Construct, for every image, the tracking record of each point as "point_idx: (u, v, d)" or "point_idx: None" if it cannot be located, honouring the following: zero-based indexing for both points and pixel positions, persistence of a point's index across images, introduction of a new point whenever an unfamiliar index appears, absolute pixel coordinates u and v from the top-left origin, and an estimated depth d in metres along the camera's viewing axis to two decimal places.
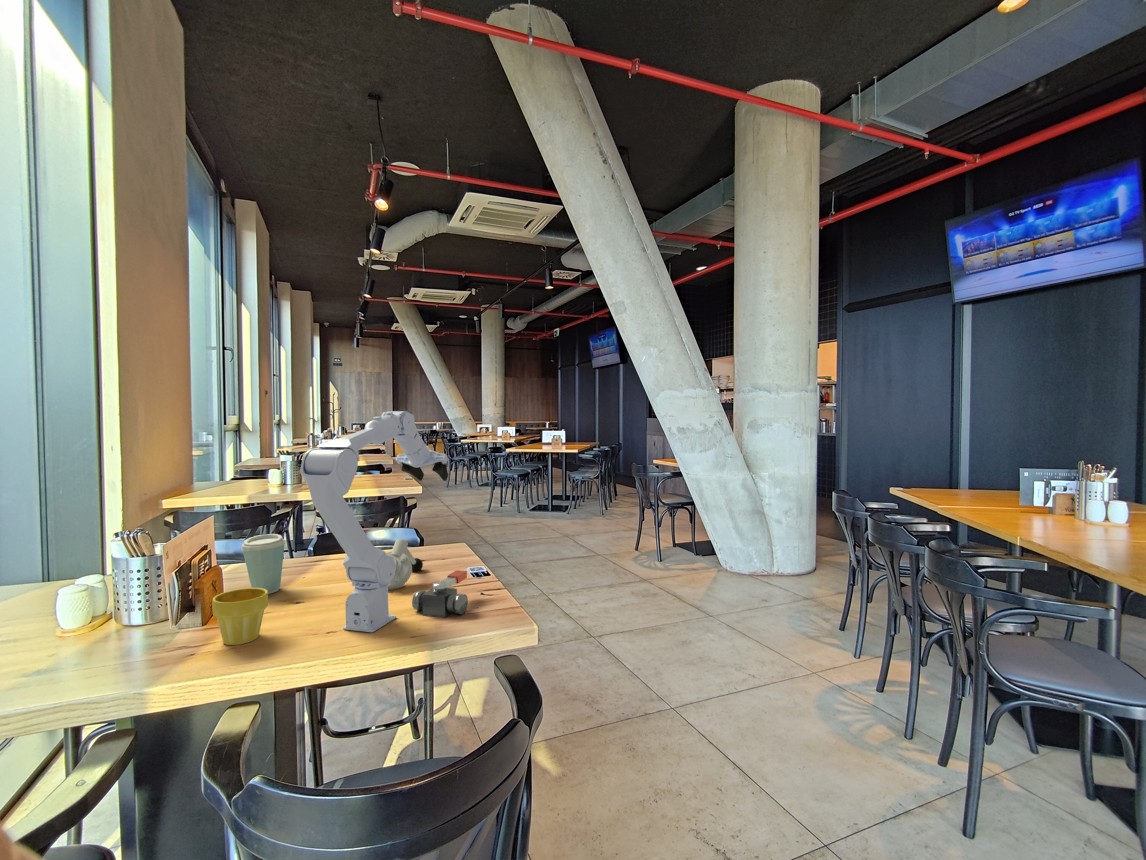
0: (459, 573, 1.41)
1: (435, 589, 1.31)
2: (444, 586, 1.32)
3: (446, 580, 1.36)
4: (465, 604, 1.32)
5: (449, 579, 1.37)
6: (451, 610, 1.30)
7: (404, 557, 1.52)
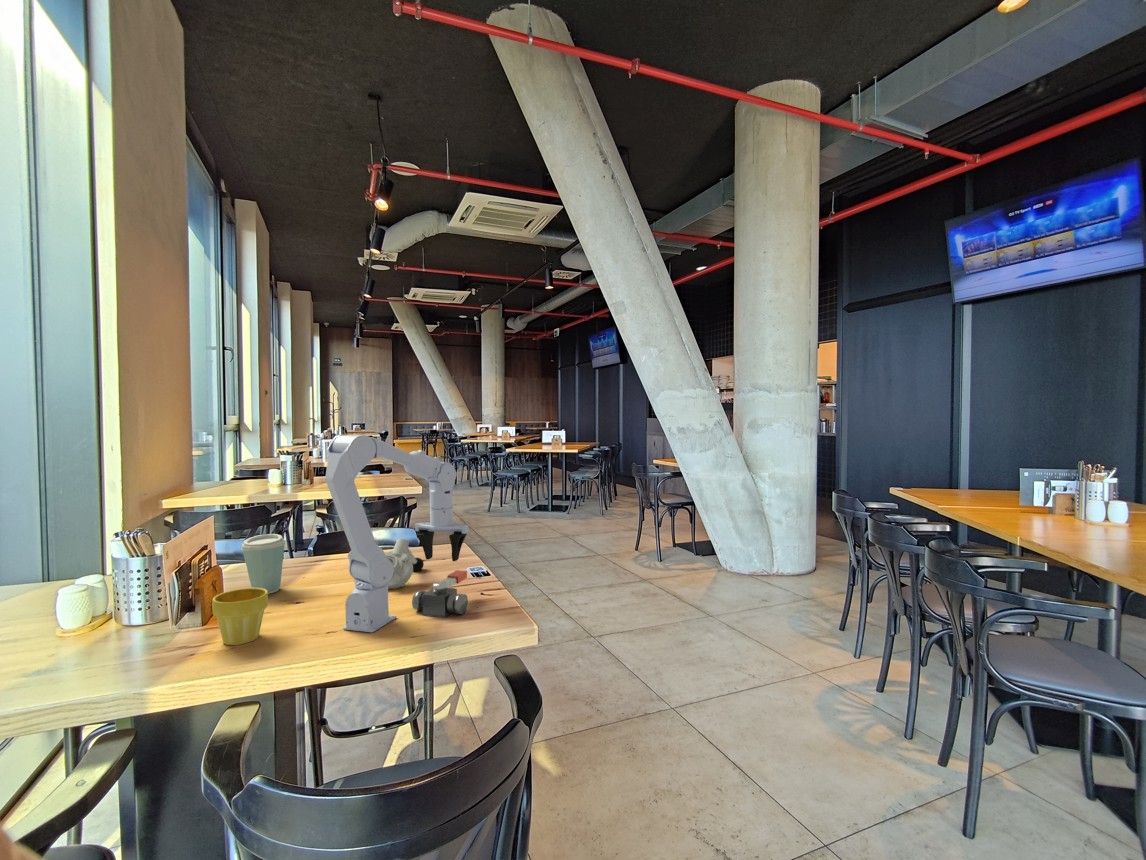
0: (459, 573, 1.41)
1: (435, 589, 1.31)
2: (444, 586, 1.32)
3: (446, 580, 1.36)
4: (465, 604, 1.32)
5: (449, 579, 1.37)
6: (451, 610, 1.30)
7: (405, 557, 1.53)
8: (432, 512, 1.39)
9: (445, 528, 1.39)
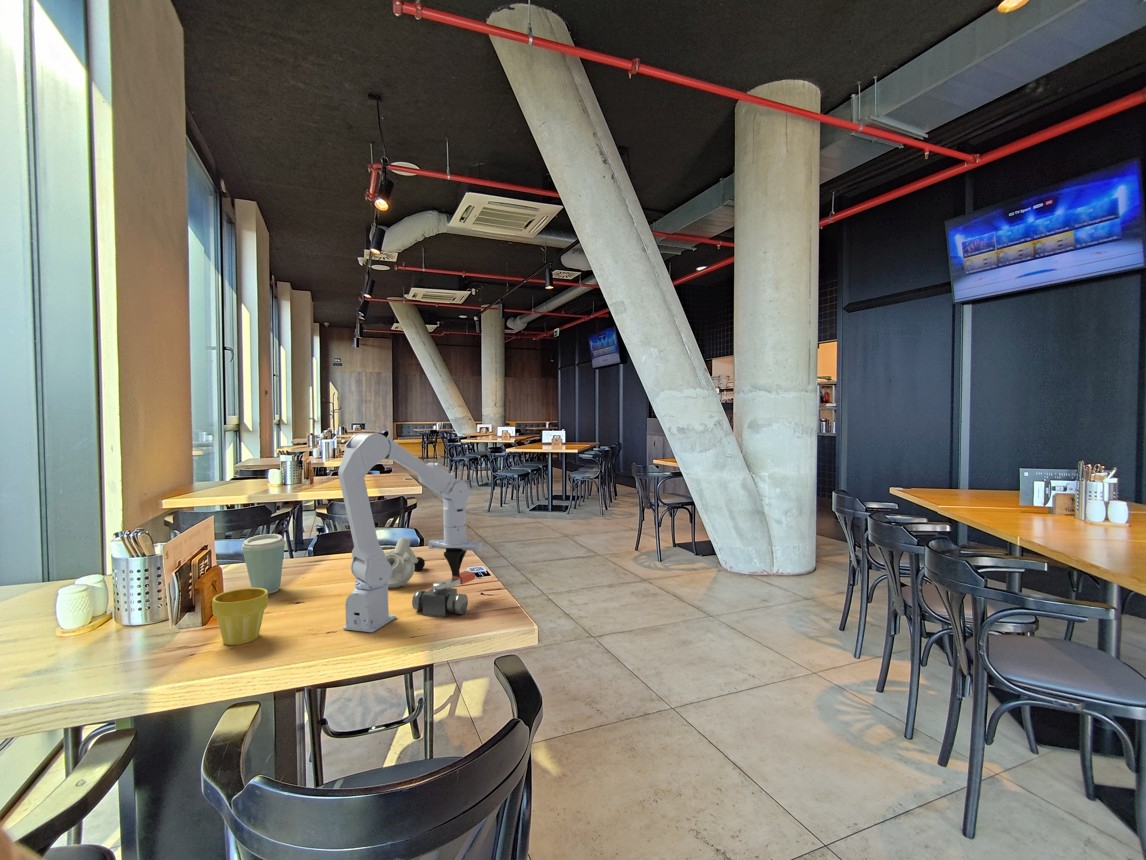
0: (465, 574, 1.41)
1: (434, 588, 1.32)
2: (443, 586, 1.32)
3: (449, 580, 1.36)
4: (465, 604, 1.32)
5: (452, 580, 1.37)
6: (451, 610, 1.30)
7: (407, 556, 1.54)
8: (446, 530, 1.39)
9: (459, 546, 1.38)
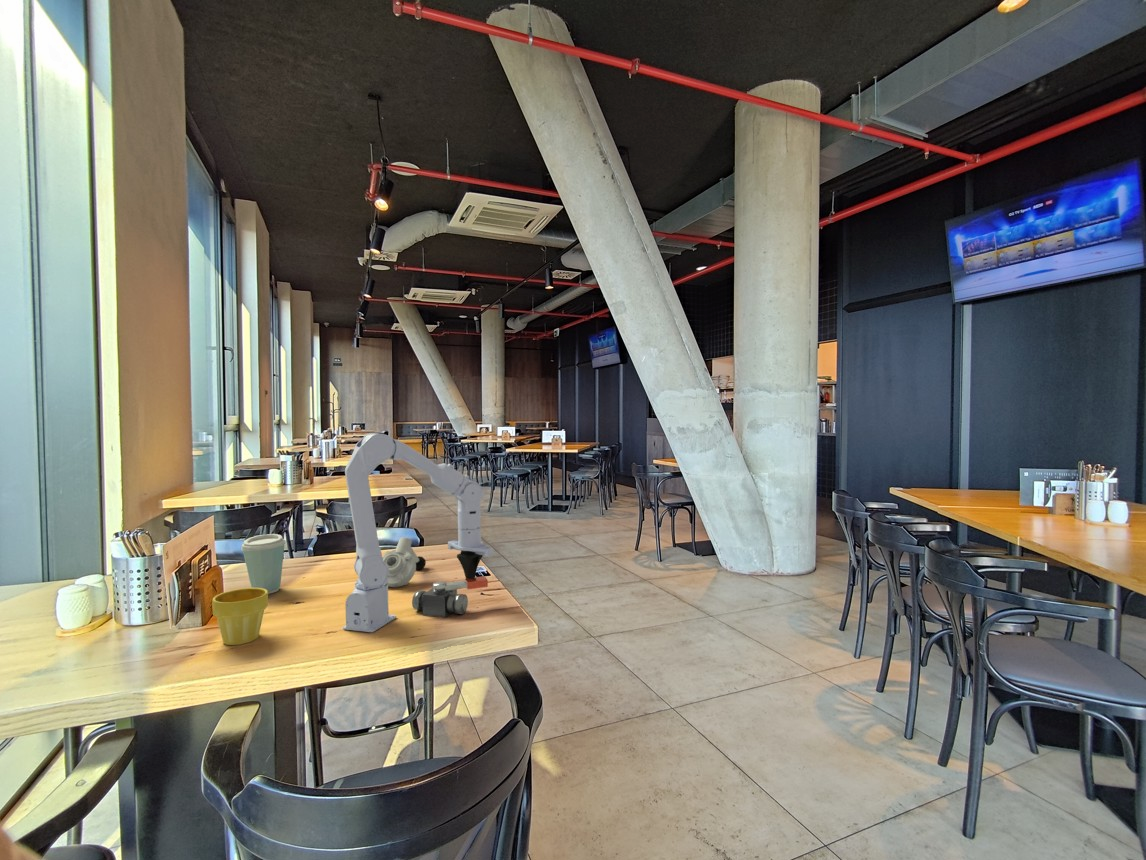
0: (476, 579, 1.36)
1: (433, 587, 1.32)
2: (438, 587, 1.31)
3: (454, 582, 1.34)
4: (465, 604, 1.32)
5: (457, 583, 1.34)
6: (451, 610, 1.30)
7: (408, 555, 1.54)
8: (458, 532, 1.36)
9: (469, 549, 1.35)
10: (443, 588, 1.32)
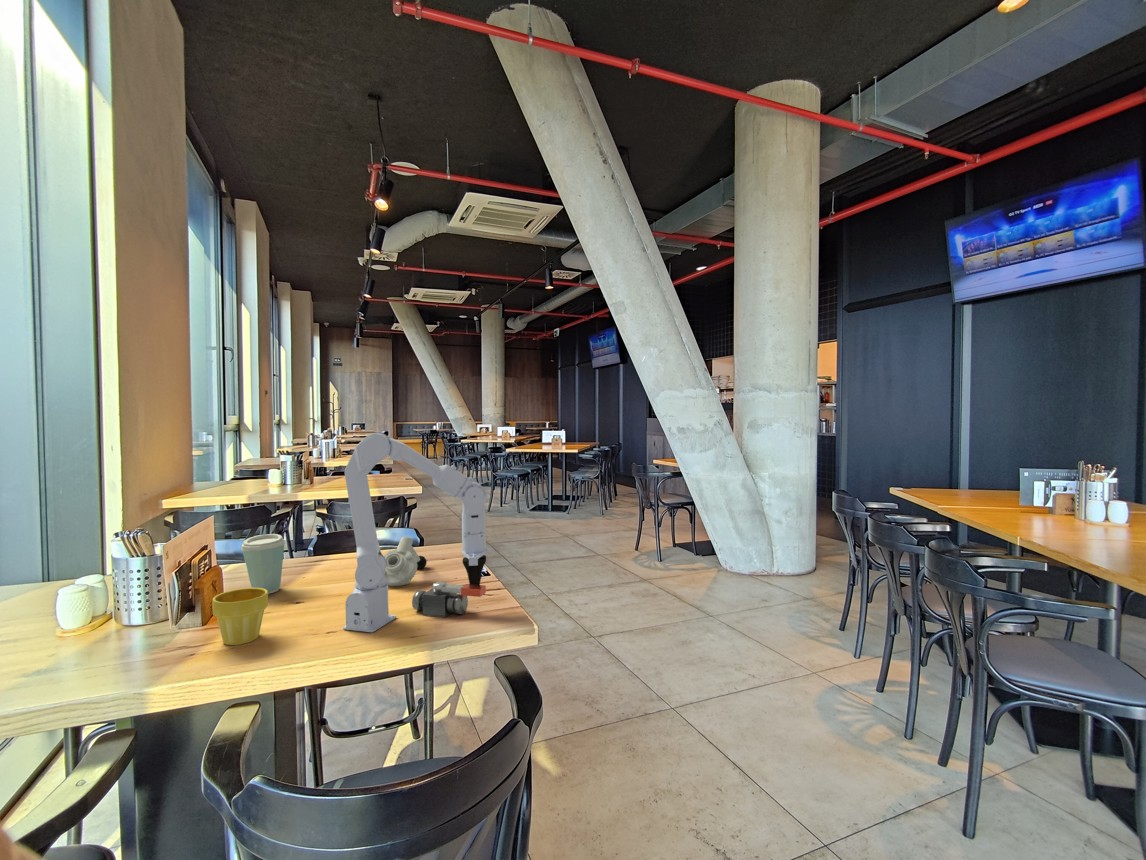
0: (472, 587, 1.30)
1: None
2: (435, 587, 1.32)
3: (453, 585, 1.32)
4: (465, 604, 1.32)
5: (455, 586, 1.31)
6: (451, 610, 1.30)
7: (409, 554, 1.55)
8: None
9: (463, 554, 1.30)
10: (439, 589, 1.31)
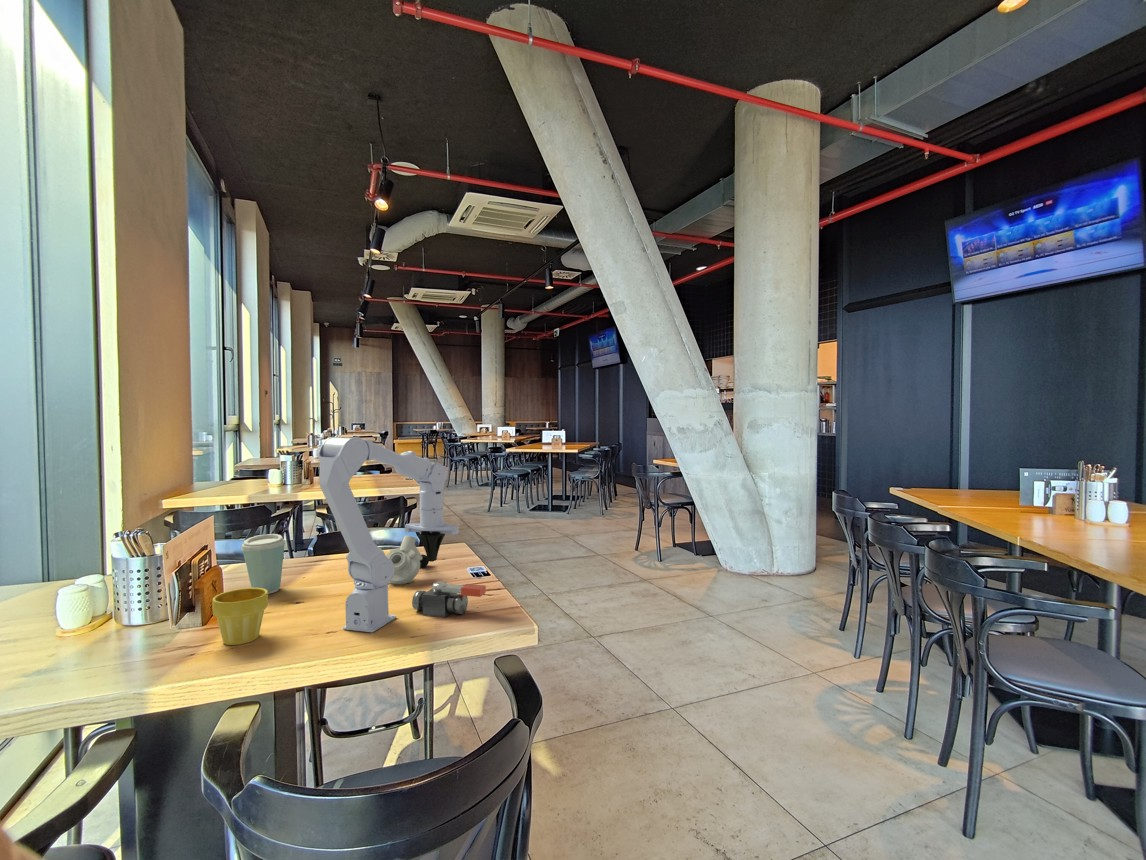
0: (472, 587, 1.30)
1: None
2: (435, 587, 1.32)
3: (453, 585, 1.32)
4: (465, 604, 1.32)
5: (455, 586, 1.31)
6: (451, 610, 1.30)
7: (413, 553, 1.57)
8: (422, 513, 1.38)
9: (435, 529, 1.38)
10: (439, 589, 1.31)
